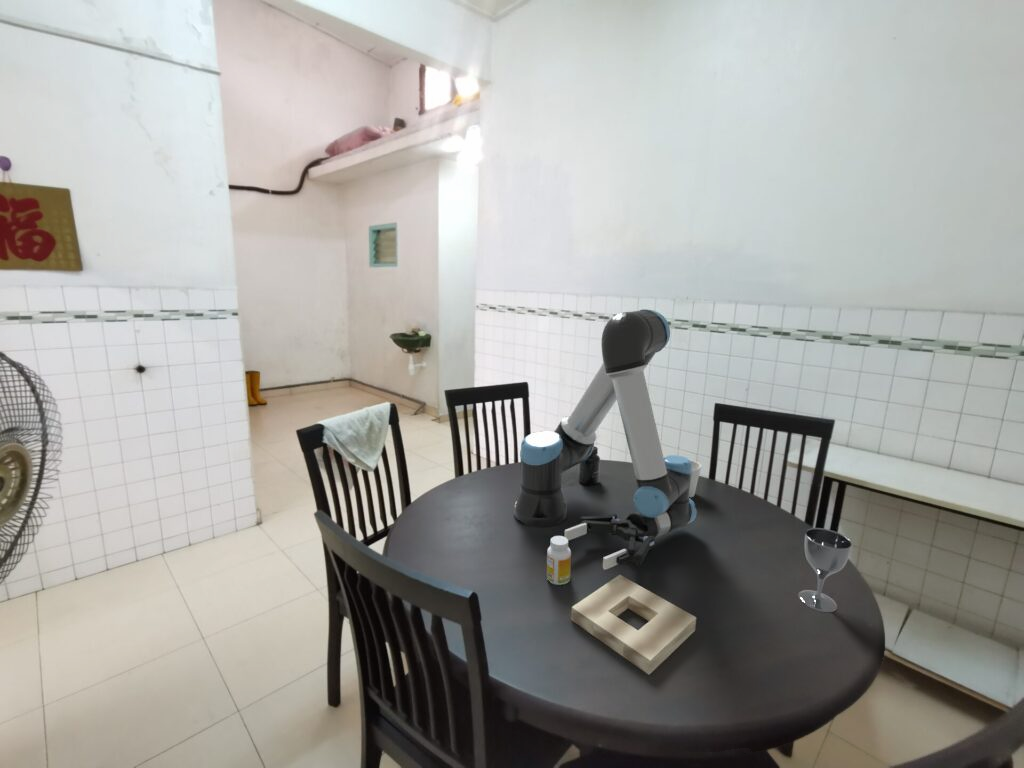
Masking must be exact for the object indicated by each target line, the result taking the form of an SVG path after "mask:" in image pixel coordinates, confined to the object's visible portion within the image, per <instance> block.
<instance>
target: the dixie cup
mask: <svg viewBox="0 0 1024 768" xmlns="http://www.w3.org/2000/svg"><path fill="white" fill-rule="evenodd" d="M689 460H690V461H691V464H692V475H691V484H690V495H689V497H690V498H694V497H695V493H696V490H697V486H698V481H699V477H700V475H701V470H702V468H703V466H702V464H701V463H700V462H698V461H695V460H692V459H689Z"/></svg>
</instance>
